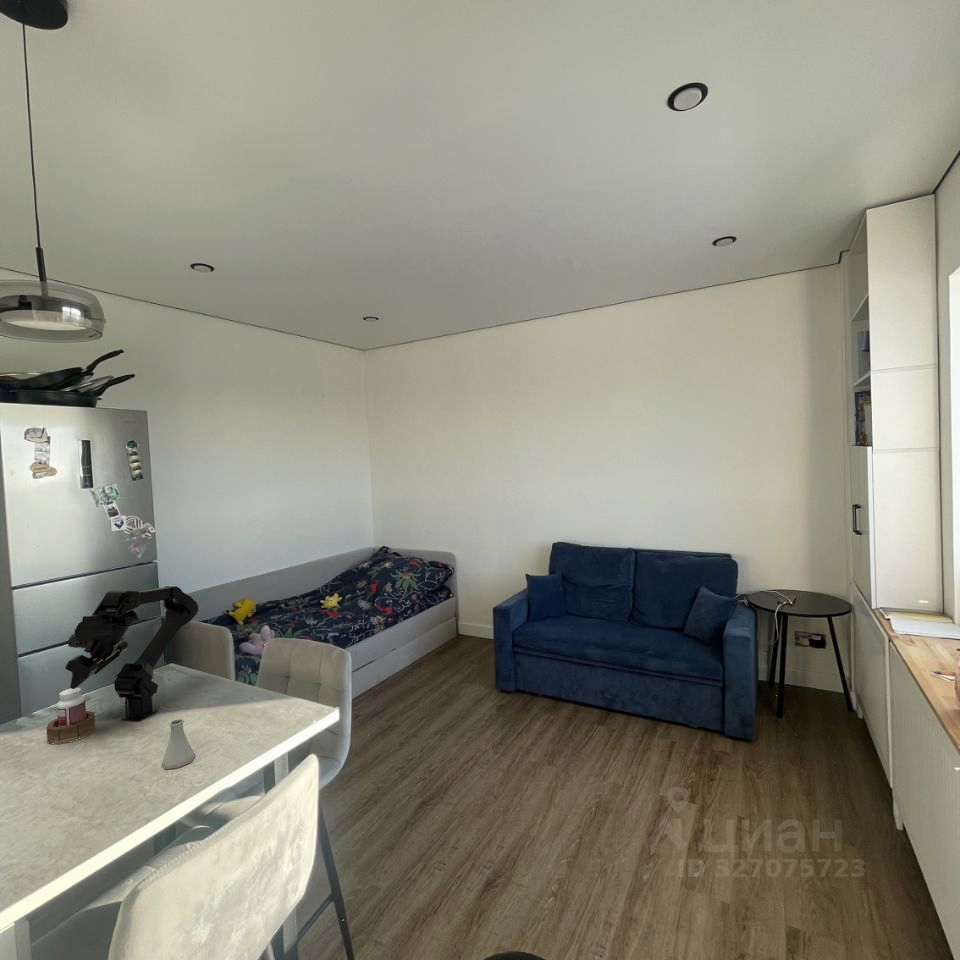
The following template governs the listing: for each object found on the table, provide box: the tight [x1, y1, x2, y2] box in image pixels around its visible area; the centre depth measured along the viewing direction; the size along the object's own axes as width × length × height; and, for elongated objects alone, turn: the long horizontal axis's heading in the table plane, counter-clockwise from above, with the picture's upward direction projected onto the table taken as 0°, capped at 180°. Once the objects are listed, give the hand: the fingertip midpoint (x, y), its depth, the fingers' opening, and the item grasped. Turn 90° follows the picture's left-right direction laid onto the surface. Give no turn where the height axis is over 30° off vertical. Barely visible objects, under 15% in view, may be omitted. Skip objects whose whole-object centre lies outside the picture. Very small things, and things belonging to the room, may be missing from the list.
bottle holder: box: [46, 710, 97, 745], centre depth 142 cm, size 10×10×4 cm
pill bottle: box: [56, 687, 87, 727], centre depth 142 cm, size 6×6×11 cm
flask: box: [161, 718, 196, 770], centre depth 126 cm, size 7×7×10 cm
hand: (83, 680), depth 145 cm, fingers open, 9 cm apart
